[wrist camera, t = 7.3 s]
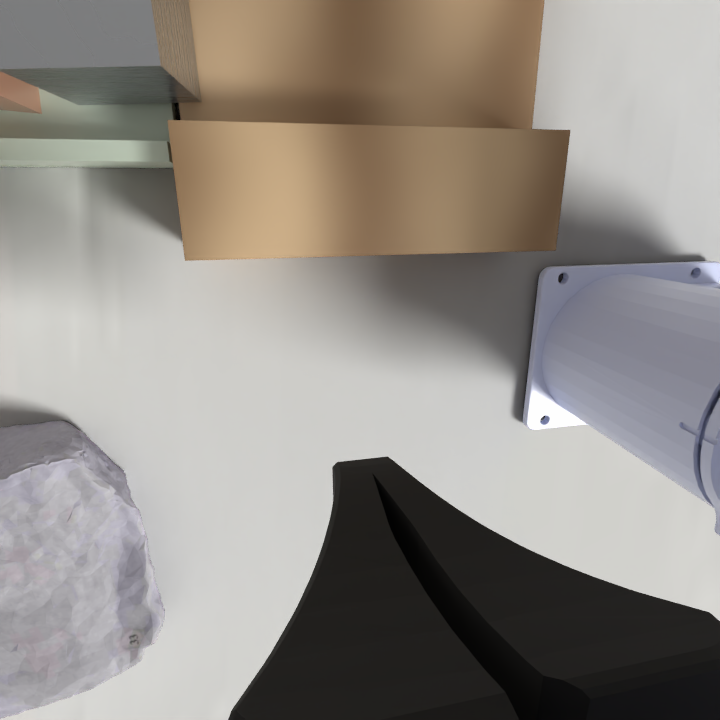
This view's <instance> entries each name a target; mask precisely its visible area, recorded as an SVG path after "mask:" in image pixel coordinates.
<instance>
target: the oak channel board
mask: <svg viewBox="0 0 720 720" xmlns="http://www.w3.org/2000/svg"><path fill="white" fill-rule="evenodd" d="M189 8H190V16H191V24H192V31H193V39H194V47H195V54H196V62H197V70H198V77H199V85H200V93H201V100H202V102H189V103H179V110H180V118H181V120H167V121H168V129H169V137H170V145H171V153H172V161H173V169H174V177H175V184H176V192H177V200H178V208H179V216H180V224H181V232H182V240H183V248H184V255H185V261H187V260H224V259H260V258H297V257H334V256H370V255H407V254H444V253H481V252H517V251H554V250H556V243H557V235H558V227H559V219H560V211H561V202H562V194H563V186H564V178H565V170H566V162H567V153H568V145H569V137H570V130H542V129H532V121H533V111H534V101H535V91H536V81H537V71H538V60H539V50H540V40H541V30H542V20H543V9H544V0H189Z"/></svg>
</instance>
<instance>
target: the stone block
mask: <svg viewBox="0 0 720 720" xmlns="http://www.w3.org/2000/svg"><path fill="white" fill-rule="evenodd" d="M164 619H165V610H164V608H163V604H162V601H161V597H160V593H159V590H158V587H157V584H156V580H155V578H154V567H153V565H152V563H151V560H150V556H149V551H148V539H147V536H146V533H145V530H144V527H143V524H142V519H141V515H140V512H139V510H138V509H137V507H136V506H135V504H134V502H133V501H132V499H131V495H130V489H129V487H128V485H127V479H126V475H125V473H124V471H123V470H122V469H121V468H120V467H118V466H117V465H115V464H114V463H113V462H112V461H111V460H110V459H109V458H108V457H107V455H106V454H105V453H104V452H103V451H102V450H101V449H100V448H99V447H98V446H96V445H95V444H94V443H93V442H92V441H91V440H90V439H89V438H88V437H87V436H86V435H85V434H84V433H83V432H82V431H80V430H78V429H77V428H76V427H74V426H73V425H71V424H70V423H68V422H65V421H48V422H44V423H39V424H27V425H13V426H9V427H0V719H1V718H4V717H6V716H12V715H16V714H19V713H22V712H24V711H26V710H29V709H34V708H38V707H42V706H45V705H48V704H51V703H53V702H56V701H59V700H62V699H66V698H70V697H72V696H73V695H76V694H79V693H82V692H85V691H88V690H91V689H93V688H94V687H96V686H98V685H100V684H102V683H103V682H105V681H107V680H109V679H110V678H112V677H114V676H116V675H118V674H120V673H122V672H124V671H125V670H127V669H129V668H130V667H132V666H134V665H136V664H137V663H138V662H140V661H141V660H142V657H143V655H144V650H145V648H146V647H148V646H150V645H152V644H154V643H155V642H156V640H157V637H158V635H159V633H160V630H161V628H162V626H163V622H164Z"/></svg>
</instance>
